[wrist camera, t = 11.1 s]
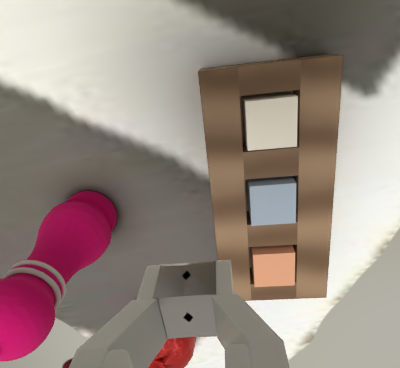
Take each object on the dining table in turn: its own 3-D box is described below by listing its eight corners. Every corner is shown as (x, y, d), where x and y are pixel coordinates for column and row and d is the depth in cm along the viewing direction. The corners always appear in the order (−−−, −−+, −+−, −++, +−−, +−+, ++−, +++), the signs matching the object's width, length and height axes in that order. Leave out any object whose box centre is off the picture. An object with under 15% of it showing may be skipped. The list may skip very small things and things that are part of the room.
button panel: (200, 68, 30) (198, 71, 26) (327, 54, 28) (343, 54, 25) (222, 278, 40) (222, 301, 36) (316, 274, 39) (326, 297, 35)
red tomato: (189, 288, 41) (183, 348, 33) (203, 340, 45) (201, 407, 36) (120, 297, 42) (97, 358, 34) (139, 347, 46) (123, 414, 38)
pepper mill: (104, 178, 35) (-20, 317, 17) (131, 229, 38) (48, 397, 19) (52, 196, 36) (-116, 342, 18) (81, 244, 39) (-41, 414, 21)
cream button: (242, 96, 29) (245, 101, 26) (289, 91, 29) (297, 96, 26) (244, 140, 31) (247, 150, 28) (288, 136, 30) (296, 146, 27)
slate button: (246, 173, 32) (249, 186, 29) (288, 169, 32) (296, 183, 29) (248, 209, 34) (251, 225, 31) (288, 206, 34) (295, 223, 30)
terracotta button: (249, 236, 35) (252, 255, 32) (288, 234, 35) (295, 252, 32) (251, 266, 37) (254, 287, 34) (288, 264, 37) (294, 285, 34)
